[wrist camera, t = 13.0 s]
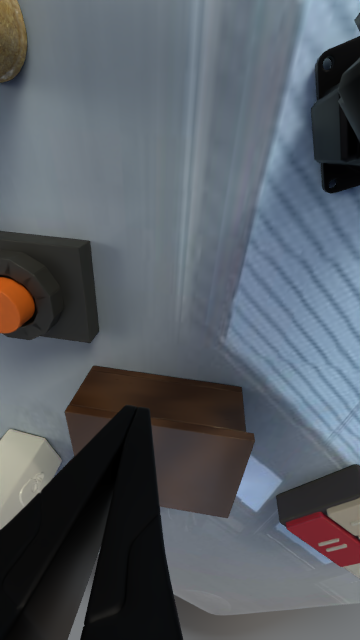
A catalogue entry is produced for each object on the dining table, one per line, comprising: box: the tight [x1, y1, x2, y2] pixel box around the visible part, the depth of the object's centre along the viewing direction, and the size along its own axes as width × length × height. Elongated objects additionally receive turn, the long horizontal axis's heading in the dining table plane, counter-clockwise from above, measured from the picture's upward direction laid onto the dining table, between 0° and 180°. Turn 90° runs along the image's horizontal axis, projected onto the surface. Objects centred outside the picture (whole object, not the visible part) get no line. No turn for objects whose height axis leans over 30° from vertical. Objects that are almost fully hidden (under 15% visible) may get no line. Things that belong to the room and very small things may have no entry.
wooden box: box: [69, 366, 246, 432], centre depth 27 cm, size 14×12×5 cm
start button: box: [0, 277, 35, 333], centre depth 19 cm, size 4×4×2 cm
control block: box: [0, 231, 99, 343], centre depth 21 cm, size 10×8×4 cm
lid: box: [65, 405, 255, 518], centre depth 24 cm, size 15×12×1 cm
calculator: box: [276, 465, 360, 579], centre depth 31 cm, size 11×4×15 cm
